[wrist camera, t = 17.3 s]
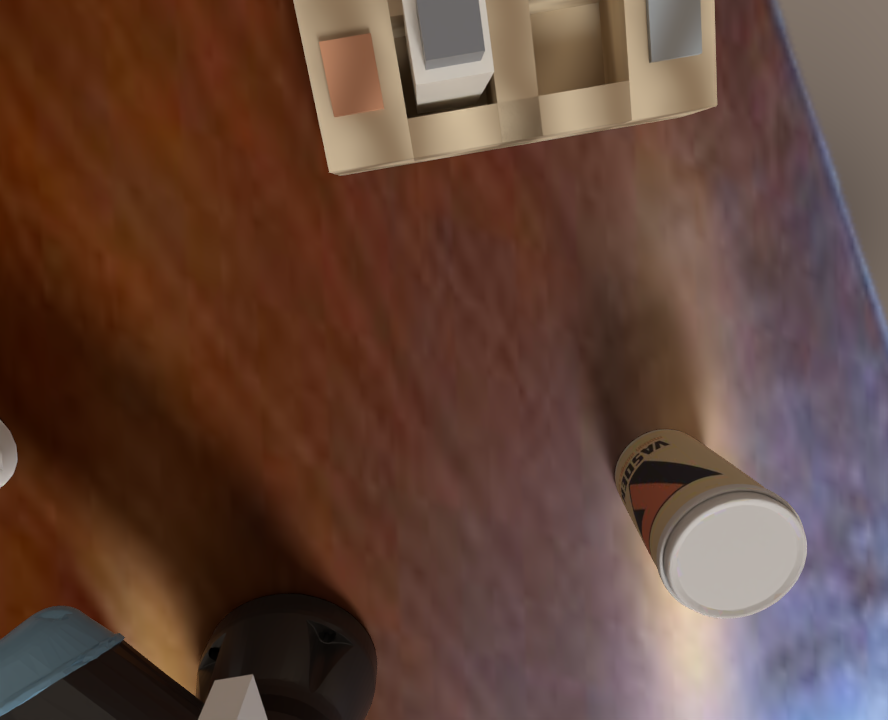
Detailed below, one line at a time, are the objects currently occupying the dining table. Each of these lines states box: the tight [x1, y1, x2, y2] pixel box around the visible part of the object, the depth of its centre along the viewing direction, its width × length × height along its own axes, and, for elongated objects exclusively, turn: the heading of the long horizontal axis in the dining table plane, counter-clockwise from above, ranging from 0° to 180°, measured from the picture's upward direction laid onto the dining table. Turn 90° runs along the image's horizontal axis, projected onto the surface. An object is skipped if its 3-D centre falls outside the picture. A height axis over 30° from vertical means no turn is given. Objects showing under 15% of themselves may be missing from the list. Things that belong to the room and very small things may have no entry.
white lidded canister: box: [615, 429, 807, 619], centre depth 41 cm, size 9×9×12 cm
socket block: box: [293, 0, 717, 176], centre depth 35 cm, size 24×10×5 cm, turn 99°
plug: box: [402, 0, 494, 114], centre depth 32 cm, size 4×4×12 cm
